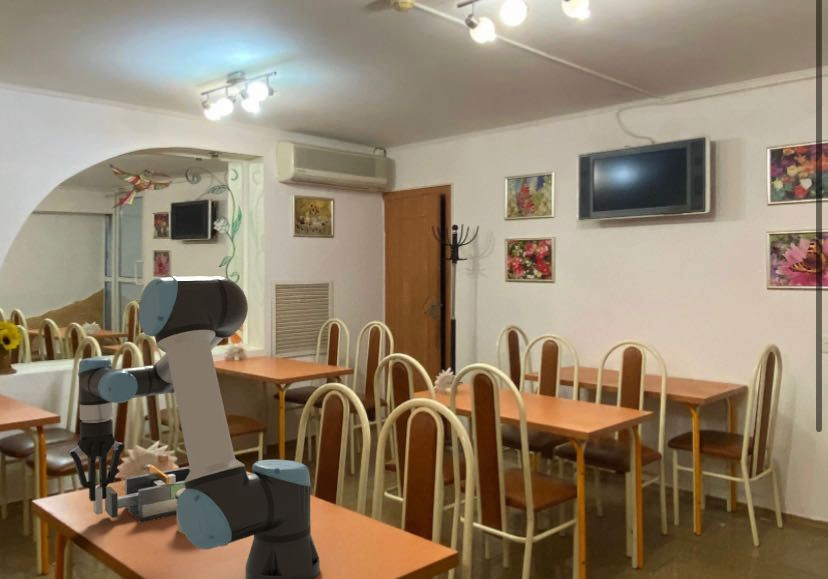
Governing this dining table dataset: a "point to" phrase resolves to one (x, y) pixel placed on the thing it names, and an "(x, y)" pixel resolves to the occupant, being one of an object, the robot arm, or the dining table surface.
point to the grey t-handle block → (131, 499)
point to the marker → (172, 478)
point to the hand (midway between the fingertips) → (98, 512)
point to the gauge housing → (155, 494)
